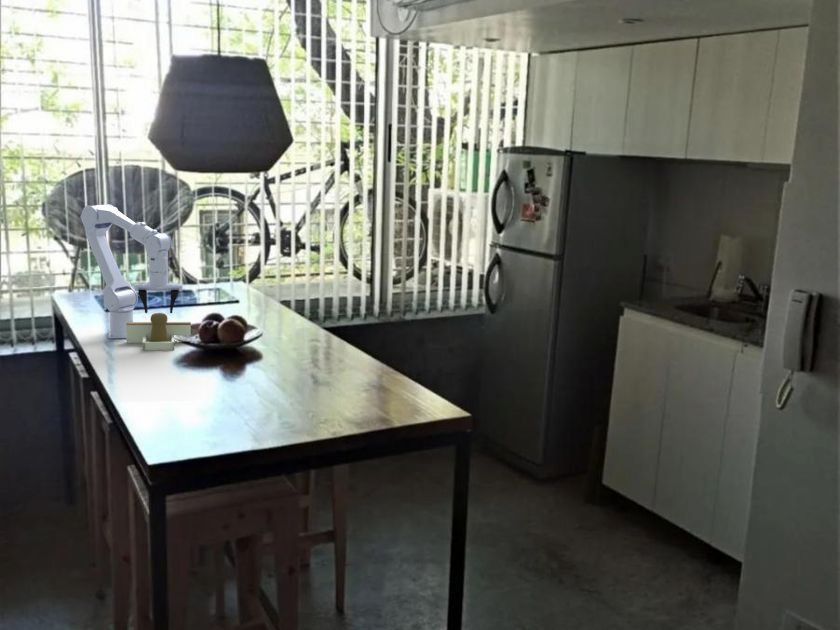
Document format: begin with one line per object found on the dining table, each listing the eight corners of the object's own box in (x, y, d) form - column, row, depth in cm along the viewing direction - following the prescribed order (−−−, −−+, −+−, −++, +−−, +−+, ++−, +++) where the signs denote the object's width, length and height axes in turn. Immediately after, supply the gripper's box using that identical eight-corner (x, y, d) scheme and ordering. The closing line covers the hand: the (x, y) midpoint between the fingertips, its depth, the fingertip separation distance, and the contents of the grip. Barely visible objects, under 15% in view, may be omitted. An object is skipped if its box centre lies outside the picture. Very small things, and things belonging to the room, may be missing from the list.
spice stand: (126, 341, 268) (126, 322, 266) (190, 341, 273) (190, 322, 272) (125, 350, 258) (124, 330, 257) (191, 349, 264) (191, 329, 263)
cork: (162, 350, 261) (162, 316, 259) (145, 347, 263) (145, 314, 260) (172, 345, 267) (172, 312, 264) (155, 343, 268) (155, 310, 266)
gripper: (134, 273, 257) (134, 315, 260) (182, 273, 261) (182, 315, 264) (135, 269, 264) (135, 310, 267) (182, 269, 268) (181, 310, 271)
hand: (158, 312), depth 266 cm, fingers open, 7 cm apart
